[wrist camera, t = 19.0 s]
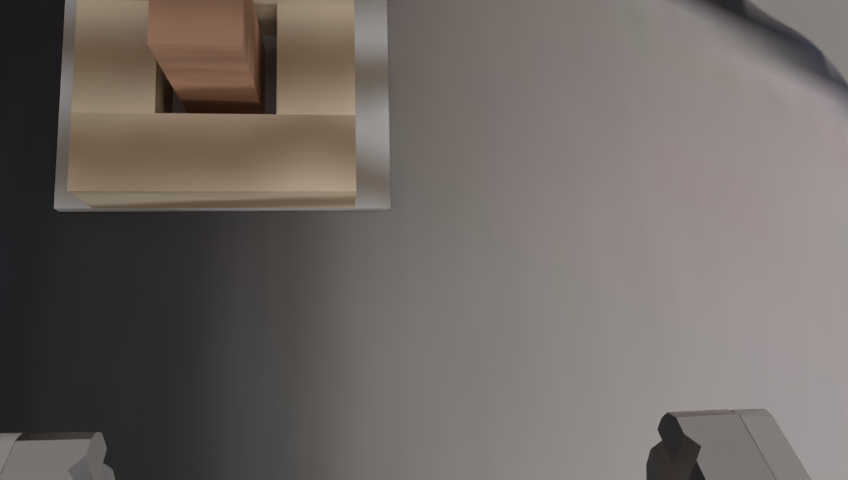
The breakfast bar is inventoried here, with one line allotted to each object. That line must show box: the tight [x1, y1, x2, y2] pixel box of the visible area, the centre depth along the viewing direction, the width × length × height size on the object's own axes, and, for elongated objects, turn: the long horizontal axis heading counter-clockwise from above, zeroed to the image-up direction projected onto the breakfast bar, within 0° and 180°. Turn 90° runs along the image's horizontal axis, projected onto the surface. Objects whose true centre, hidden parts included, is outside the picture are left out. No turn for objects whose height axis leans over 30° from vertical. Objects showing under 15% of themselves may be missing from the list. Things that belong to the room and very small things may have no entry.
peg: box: [147, 0, 265, 114], centre depth 39 cm, size 4×4×10 cm
